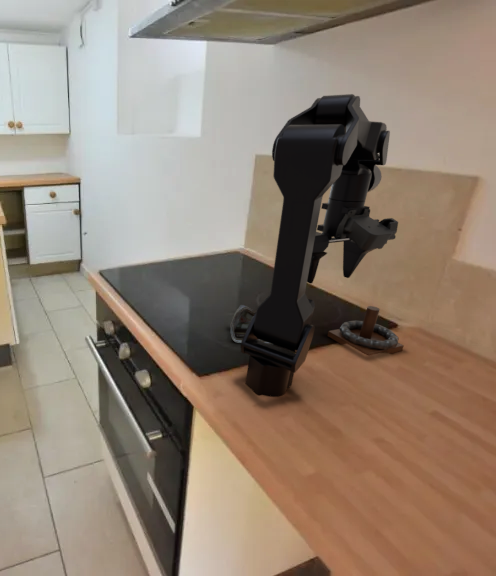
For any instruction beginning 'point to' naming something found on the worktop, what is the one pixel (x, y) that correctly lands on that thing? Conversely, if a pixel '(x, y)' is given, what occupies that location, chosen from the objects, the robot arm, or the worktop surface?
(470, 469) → the worktop surface
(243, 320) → the grey curved frame
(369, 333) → the post
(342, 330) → the ring
